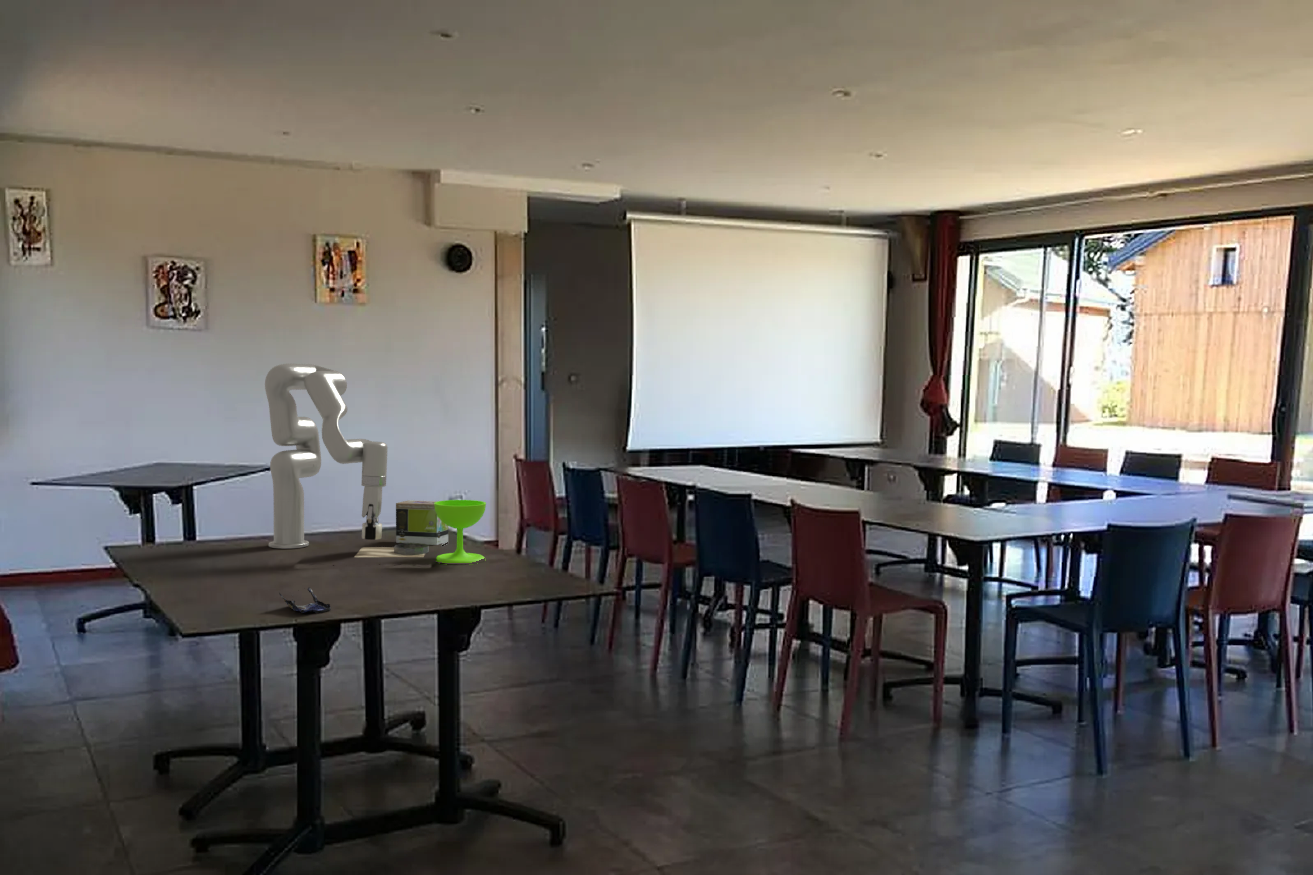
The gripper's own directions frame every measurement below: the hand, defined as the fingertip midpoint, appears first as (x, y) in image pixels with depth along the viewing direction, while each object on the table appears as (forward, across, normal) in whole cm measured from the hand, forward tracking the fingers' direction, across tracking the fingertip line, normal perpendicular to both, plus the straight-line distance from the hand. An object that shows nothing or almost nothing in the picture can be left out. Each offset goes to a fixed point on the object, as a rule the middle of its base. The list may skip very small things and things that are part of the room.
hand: (371, 536), depth 344 cm
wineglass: (+5, +9, +28) cm, 30 cm away
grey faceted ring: (+4, +1, +13) cm, 13 cm away
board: (+6, +1, +7) cm, 9 cm away
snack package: (+5, +77, -6) cm, 78 cm away
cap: (0, 0, 0) cm, 0 cm away
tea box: (+6, -20, +14) cm, 25 cm away
